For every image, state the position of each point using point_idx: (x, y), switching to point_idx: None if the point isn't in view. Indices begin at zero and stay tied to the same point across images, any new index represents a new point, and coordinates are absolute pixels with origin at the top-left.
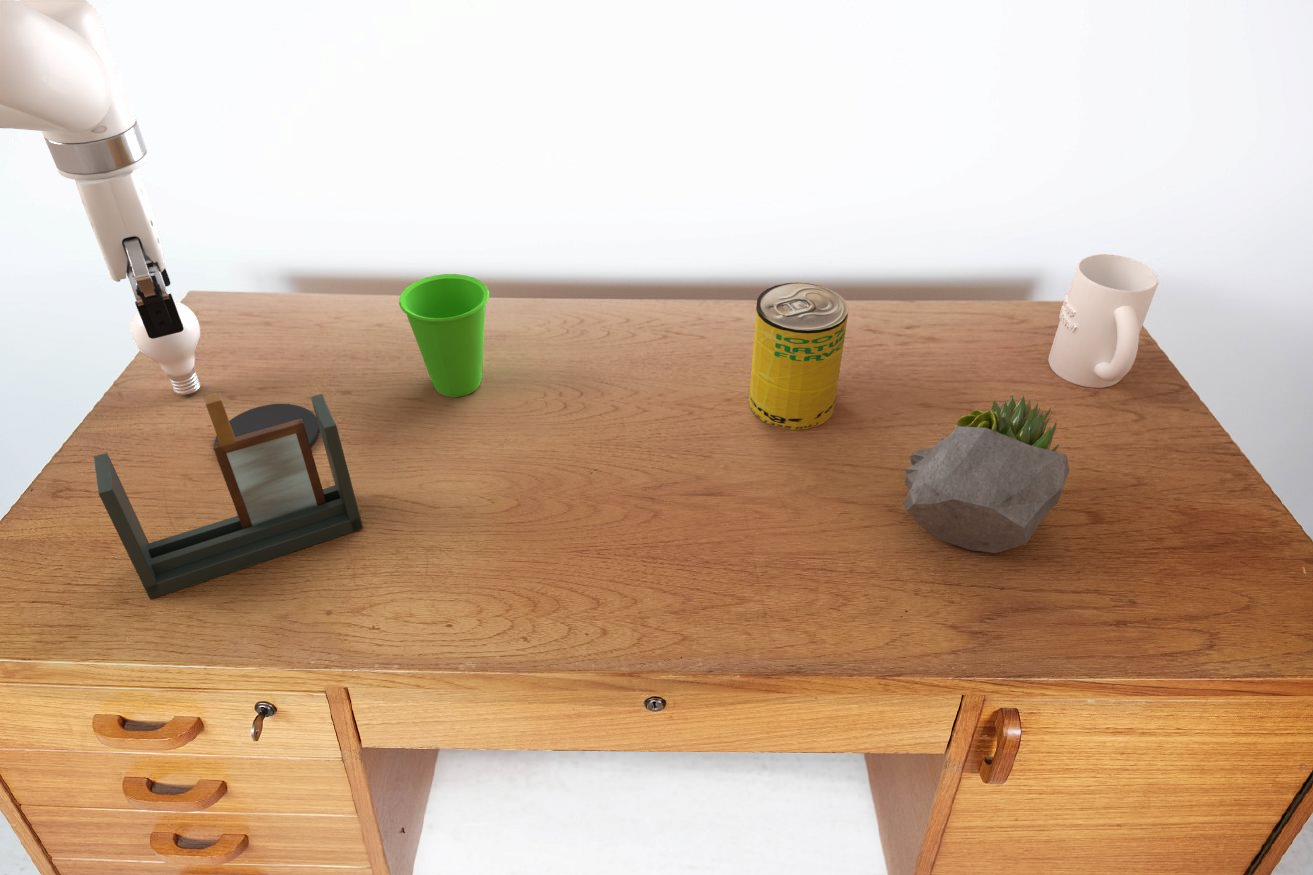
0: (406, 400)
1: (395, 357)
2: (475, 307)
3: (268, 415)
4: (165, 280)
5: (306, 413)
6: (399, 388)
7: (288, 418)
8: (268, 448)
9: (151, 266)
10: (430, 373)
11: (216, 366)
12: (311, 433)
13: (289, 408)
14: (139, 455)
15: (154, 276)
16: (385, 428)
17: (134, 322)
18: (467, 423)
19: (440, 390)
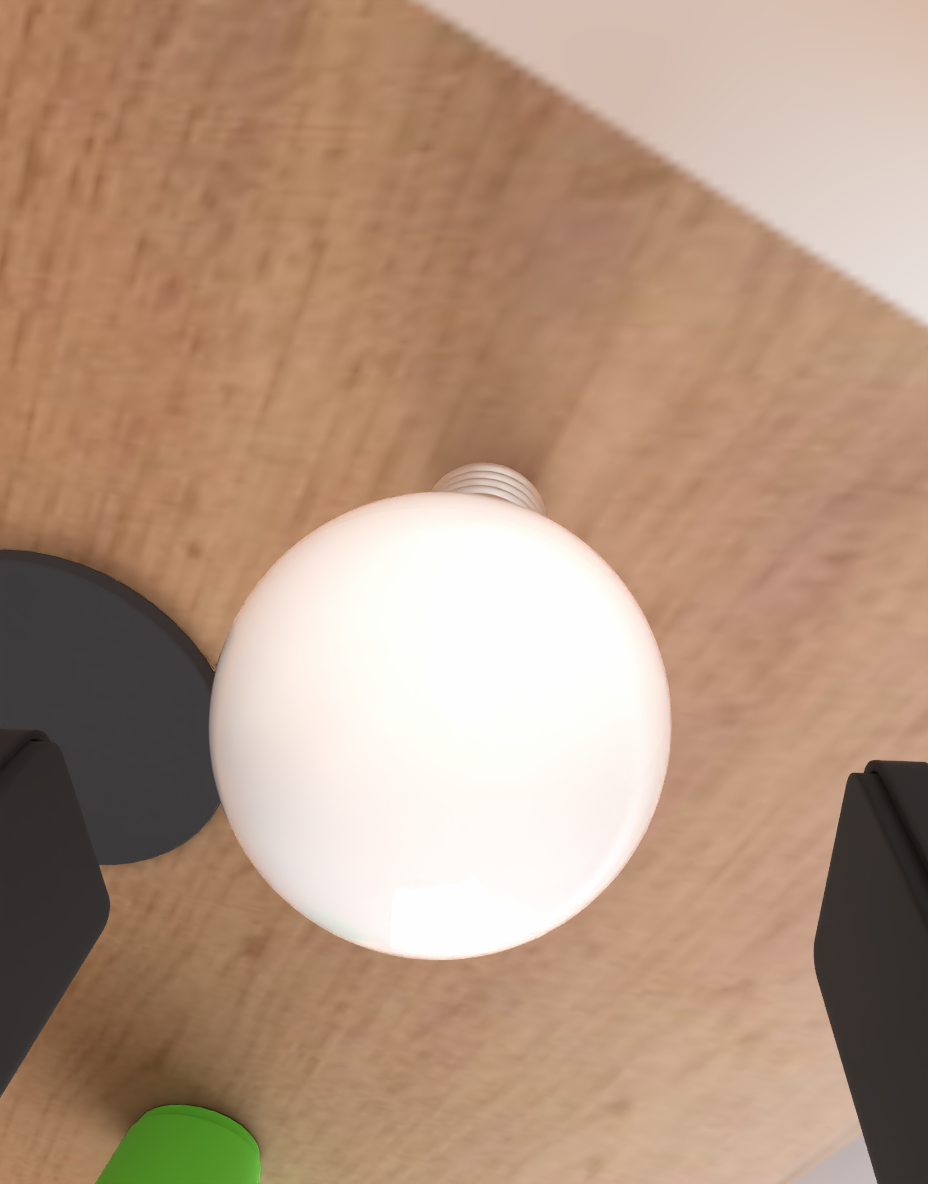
0: (159, 1043)
1: (399, 1085)
2: None
3: (156, 752)
4: (831, 992)
5: (134, 848)
6: (226, 1048)
7: (118, 800)
8: None
9: (899, 1119)
10: (133, 1173)
11: None
12: None
13: (178, 815)
14: (51, 246)
15: (860, 998)
16: None
17: (348, 642)
18: (15, 1103)
19: (144, 1123)
